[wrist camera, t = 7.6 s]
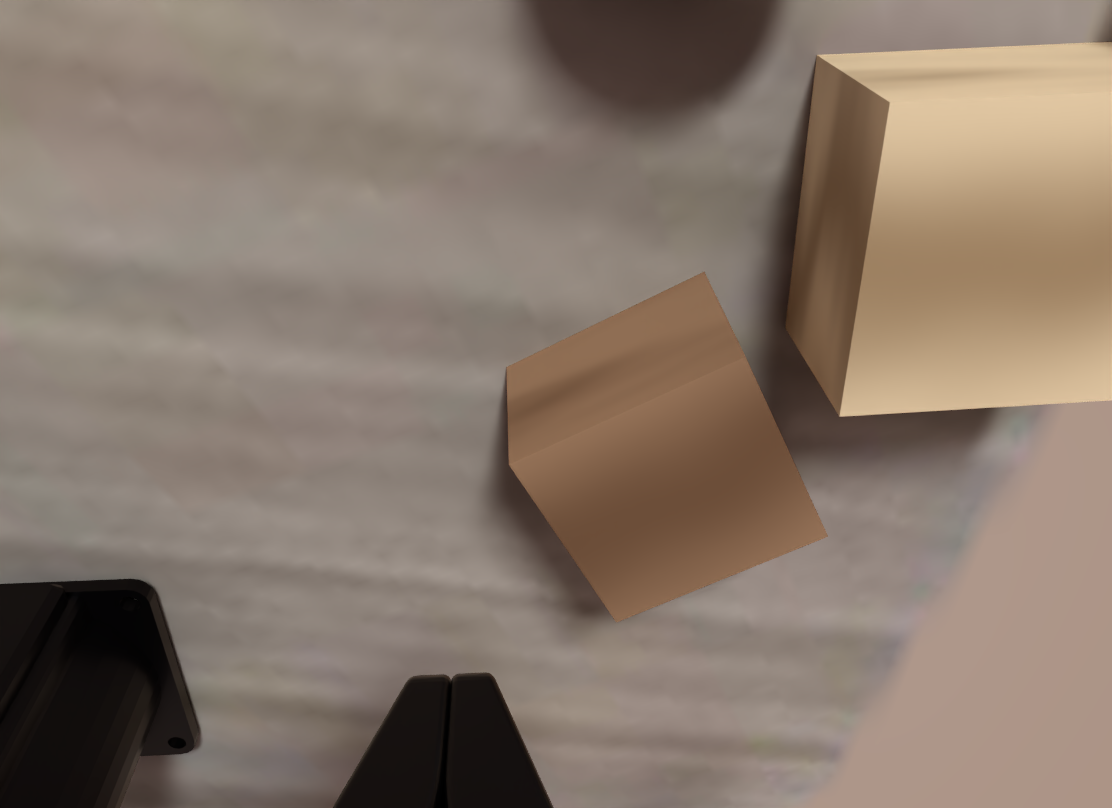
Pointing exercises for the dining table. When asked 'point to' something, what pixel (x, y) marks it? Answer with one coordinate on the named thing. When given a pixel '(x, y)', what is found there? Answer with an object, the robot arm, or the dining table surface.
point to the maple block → (957, 229)
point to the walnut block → (656, 452)
